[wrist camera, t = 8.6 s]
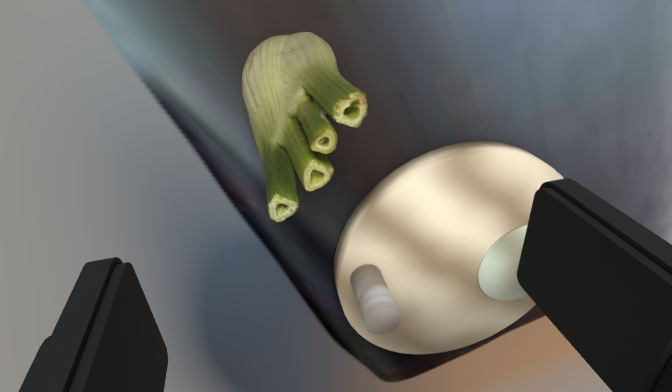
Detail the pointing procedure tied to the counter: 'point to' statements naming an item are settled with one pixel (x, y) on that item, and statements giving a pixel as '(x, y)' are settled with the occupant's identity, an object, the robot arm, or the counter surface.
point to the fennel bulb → (297, 114)
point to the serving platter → (440, 248)
